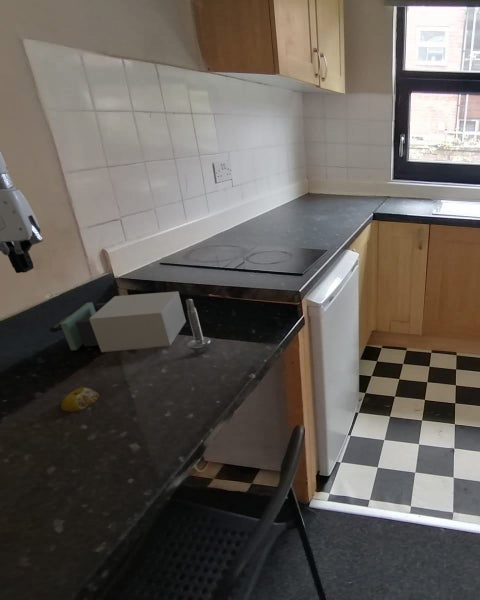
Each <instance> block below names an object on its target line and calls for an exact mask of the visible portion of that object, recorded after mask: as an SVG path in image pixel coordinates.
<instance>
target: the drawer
mask: <svg viewBox="0 0 480 600" xmlns="http://www.w3.org/2000/svg"><path fill="white" fill-rule="evenodd" d="M107 303H108V302H101V303H96V304H95V306H94V303H93V302H92V301H90V302H86V303H84V304H83V305H82V306H81V307H80V308H78V309H77V310H76V311H74V312H73V313H72V314H71V315H65V316H64V317H62V318H60V319H59V320H58V321H57V322H56V323H54V324H53V325H52V326H51V327H49V332H51V333H57V332H58V331H62V333H63V334H64V337H65V340H66V342H67V344H68V346H69V349H70V351H77V350H79V349H80V348H81V347H82V346H83V347H96V346H99V344H98V342H97V339H96V336H95V333H94V331H93V328H92V325H91V323H90V320H89V319H90V318H91V317H92V316H93V315H94V314H95V313H96V312H98V311H99V310H100V309H101V308H102V307H103V306H104V305H106V304H107ZM95 307H96V309H95ZM96 310H97V311H96Z"/></svg>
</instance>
